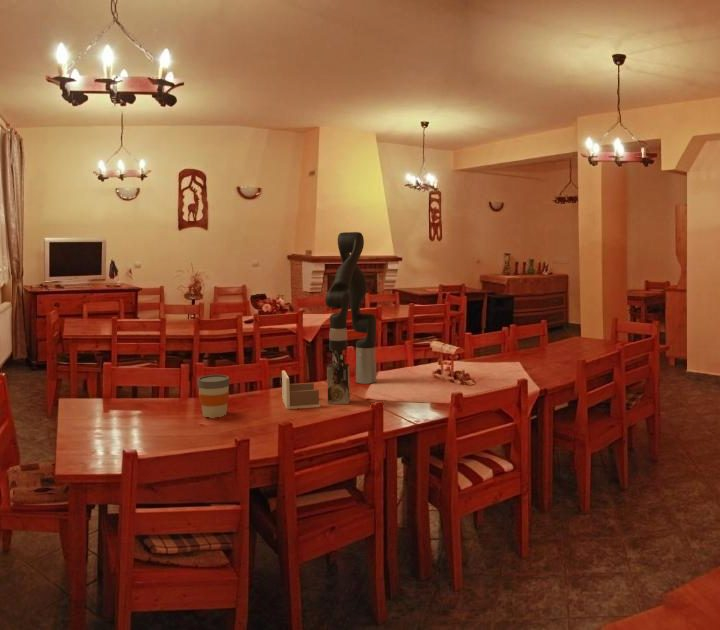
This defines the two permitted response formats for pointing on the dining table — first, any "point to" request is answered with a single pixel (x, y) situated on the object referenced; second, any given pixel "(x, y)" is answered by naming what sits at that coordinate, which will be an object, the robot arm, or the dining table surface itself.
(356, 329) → the robot arm
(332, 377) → the coffee box
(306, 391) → the book rack
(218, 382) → the reusable coffee cup
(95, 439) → the dining table surface
